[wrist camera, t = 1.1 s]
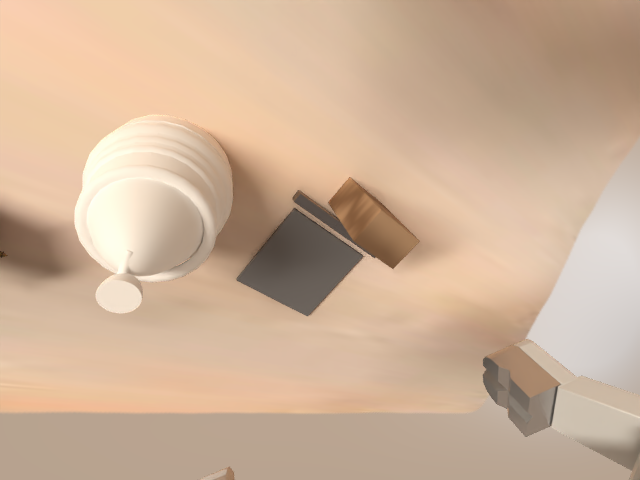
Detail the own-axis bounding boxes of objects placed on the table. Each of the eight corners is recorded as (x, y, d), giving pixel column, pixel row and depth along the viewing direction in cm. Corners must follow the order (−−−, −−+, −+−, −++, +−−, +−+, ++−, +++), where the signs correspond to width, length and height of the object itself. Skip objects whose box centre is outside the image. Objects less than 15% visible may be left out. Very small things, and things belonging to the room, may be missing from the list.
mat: (294, 208, 41) (294, 209, 40) (361, 254, 46) (362, 256, 46) (236, 278, 44) (236, 280, 43) (306, 314, 49) (307, 316, 49)
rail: (298, 190, 40) (300, 193, 39) (377, 247, 46) (380, 251, 45) (292, 197, 40) (294, 201, 39) (371, 253, 47) (374, 257, 46)
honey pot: (212, 244, 41) (202, 361, 25) (90, 212, 36) (-15, 332, 20) (249, 144, 36) (263, 212, 21) (114, 91, 31) (2, 128, 16)
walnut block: (349, 177, 40) (381, 210, 32) (382, 204, 43) (419, 241, 35) (328, 202, 41) (353, 241, 33) (361, 227, 44) (392, 269, 36)
